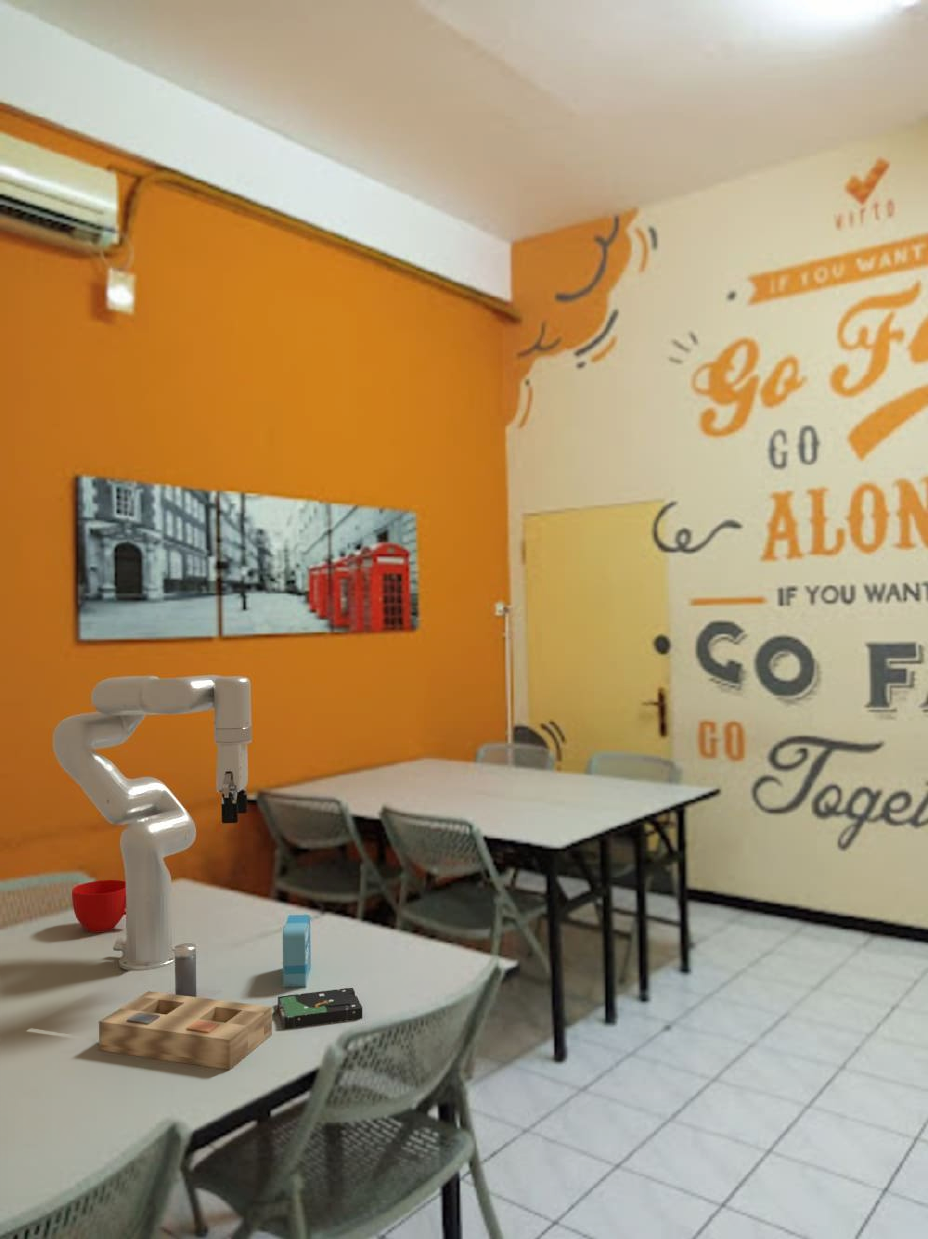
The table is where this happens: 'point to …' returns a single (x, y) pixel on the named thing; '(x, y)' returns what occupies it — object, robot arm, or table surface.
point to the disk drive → (319, 1008)
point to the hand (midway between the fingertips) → (234, 818)
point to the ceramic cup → (99, 904)
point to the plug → (185, 969)
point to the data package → (296, 951)
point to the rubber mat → (202, 992)
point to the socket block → (186, 1029)
